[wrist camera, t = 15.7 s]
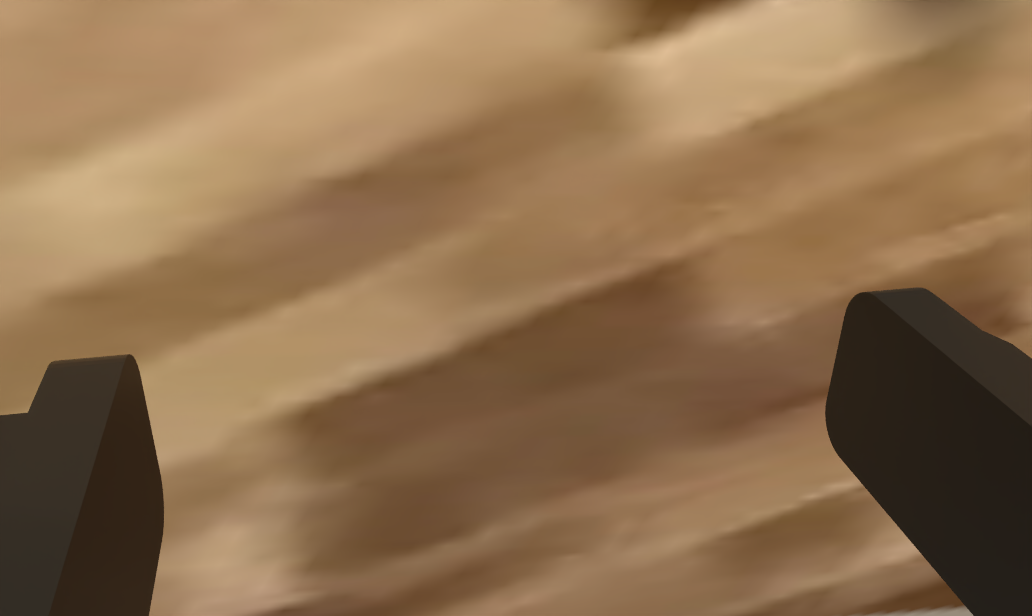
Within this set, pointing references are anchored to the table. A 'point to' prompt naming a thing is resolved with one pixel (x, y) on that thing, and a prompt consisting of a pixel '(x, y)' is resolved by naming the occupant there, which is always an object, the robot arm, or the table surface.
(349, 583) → the table surface
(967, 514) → the robot arm
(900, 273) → the table surface
